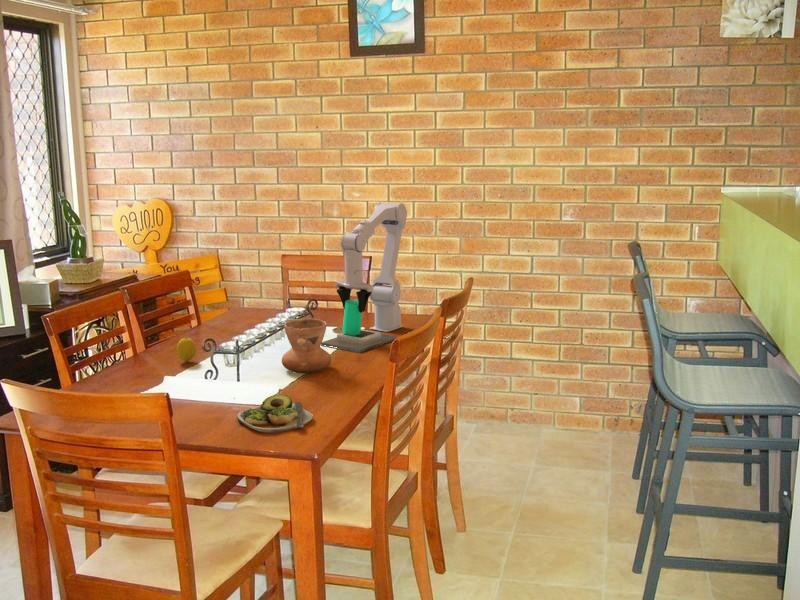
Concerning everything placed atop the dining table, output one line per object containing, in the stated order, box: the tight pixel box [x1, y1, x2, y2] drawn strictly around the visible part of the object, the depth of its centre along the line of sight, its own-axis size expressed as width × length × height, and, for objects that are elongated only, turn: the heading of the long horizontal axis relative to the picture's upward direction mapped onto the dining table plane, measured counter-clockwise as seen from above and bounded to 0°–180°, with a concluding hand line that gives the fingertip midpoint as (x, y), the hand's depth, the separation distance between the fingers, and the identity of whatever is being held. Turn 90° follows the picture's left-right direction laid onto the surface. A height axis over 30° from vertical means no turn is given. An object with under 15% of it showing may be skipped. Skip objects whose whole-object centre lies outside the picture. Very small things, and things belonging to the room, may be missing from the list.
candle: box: [342, 297, 363, 335], centre depth 282 cm, size 6×6×12 cm
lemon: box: [176, 336, 197, 363], centre depth 258 cm, size 6×6×8 cm
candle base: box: [320, 328, 398, 354], centre depth 281 cm, size 20×16×3 cm
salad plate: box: [236, 393, 314, 434], centre depth 208 cm, size 19×18×5 cm
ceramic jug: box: [281, 317, 332, 374], centre depth 250 cm, size 18×14×14 cm
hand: (354, 310), depth 281 cm, fingers closed on candle, 6 cm apart
